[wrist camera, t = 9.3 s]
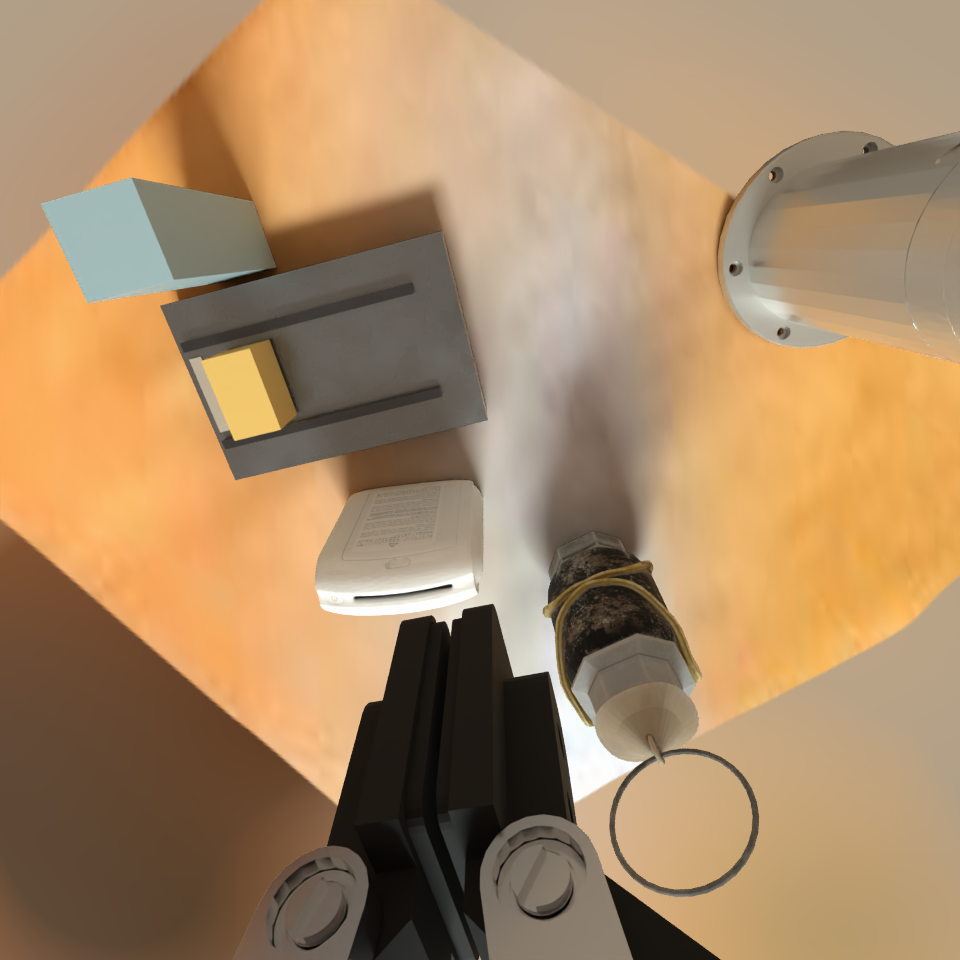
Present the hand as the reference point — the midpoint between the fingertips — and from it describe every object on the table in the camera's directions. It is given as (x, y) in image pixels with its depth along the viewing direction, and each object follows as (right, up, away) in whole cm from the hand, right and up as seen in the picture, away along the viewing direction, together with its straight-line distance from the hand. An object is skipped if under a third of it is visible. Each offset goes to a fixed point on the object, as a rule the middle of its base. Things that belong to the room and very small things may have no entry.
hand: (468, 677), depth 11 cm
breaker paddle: (-14, +10, +27) cm, 32 cm away
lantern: (+9, -3, +36) cm, 37 cm away
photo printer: (-5, +2, +34) cm, 34 cm away
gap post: (-15, +19, +27) cm, 36 cm away
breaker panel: (-9, +12, +30) cm, 33 cm away
